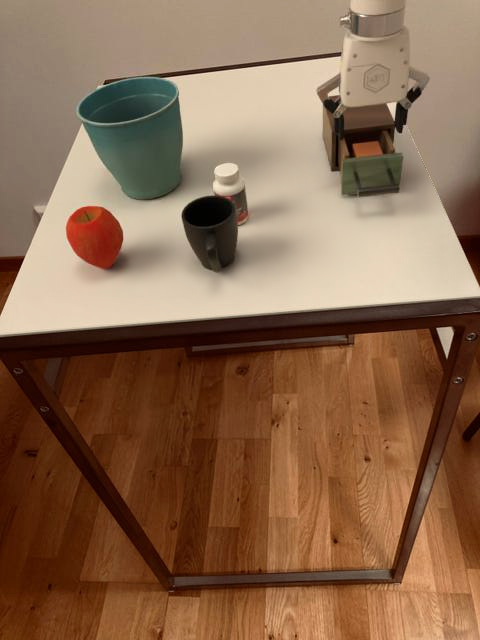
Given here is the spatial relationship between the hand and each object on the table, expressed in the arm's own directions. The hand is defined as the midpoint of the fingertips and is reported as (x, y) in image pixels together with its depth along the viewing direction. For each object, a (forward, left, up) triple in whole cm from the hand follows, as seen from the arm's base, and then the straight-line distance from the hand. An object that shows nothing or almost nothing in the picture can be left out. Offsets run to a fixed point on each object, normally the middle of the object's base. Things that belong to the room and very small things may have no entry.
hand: (369, 132), depth 85 cm
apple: (+11, +47, -10) cm, 49 cm away
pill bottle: (+7, +24, -10) cm, 27 cm away
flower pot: (+28, +30, -10) cm, 42 cm away
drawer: (-1, +1, -9) cm, 9 cm away
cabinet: (+9, -6, -9) cm, 15 cm away
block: (0, 0, -7) cm, 7 cm away
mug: (-2, +33, -10) cm, 34 cm away
